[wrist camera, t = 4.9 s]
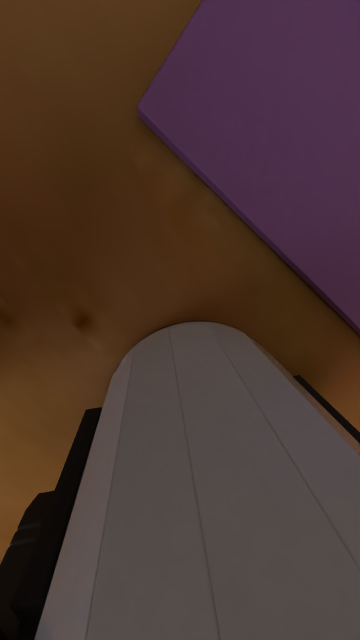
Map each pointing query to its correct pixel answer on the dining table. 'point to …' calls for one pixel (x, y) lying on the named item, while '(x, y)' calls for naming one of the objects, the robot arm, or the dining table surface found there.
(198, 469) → the gray cup
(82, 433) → the robot arm
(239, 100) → the plum cloth
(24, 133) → the dining table surface
